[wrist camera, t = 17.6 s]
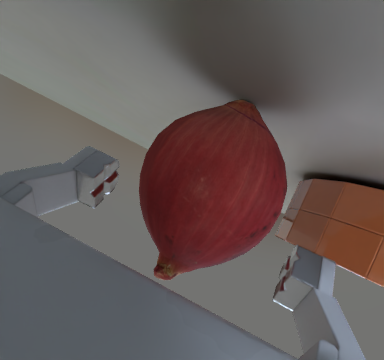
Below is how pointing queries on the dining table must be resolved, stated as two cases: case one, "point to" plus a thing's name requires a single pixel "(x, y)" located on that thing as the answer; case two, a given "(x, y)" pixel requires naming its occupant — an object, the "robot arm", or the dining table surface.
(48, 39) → the dining table surface
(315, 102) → the dining table surface
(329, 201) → the terracotta bowl
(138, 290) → the robot arm
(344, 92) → the dining table surface
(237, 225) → the onion
